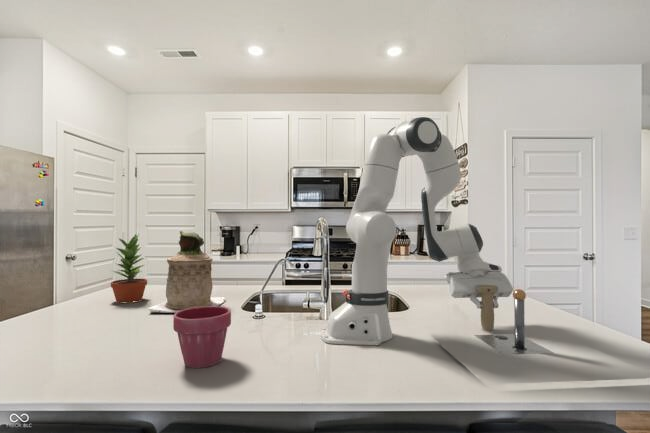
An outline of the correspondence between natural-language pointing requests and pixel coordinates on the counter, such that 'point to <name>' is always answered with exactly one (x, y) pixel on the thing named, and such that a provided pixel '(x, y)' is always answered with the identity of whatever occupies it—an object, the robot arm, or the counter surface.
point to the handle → (487, 306)
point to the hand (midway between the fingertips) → (488, 307)
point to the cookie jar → (188, 278)
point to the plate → (511, 344)
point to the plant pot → (202, 334)
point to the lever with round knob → (519, 318)
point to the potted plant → (129, 274)
